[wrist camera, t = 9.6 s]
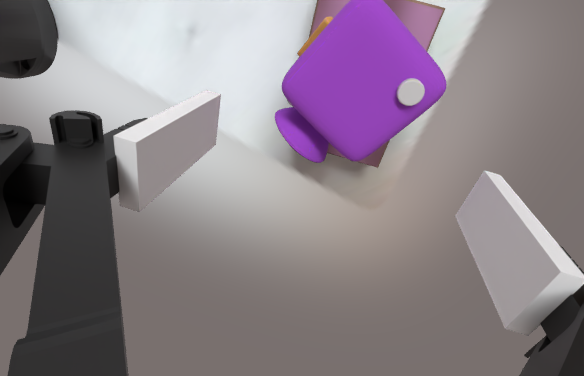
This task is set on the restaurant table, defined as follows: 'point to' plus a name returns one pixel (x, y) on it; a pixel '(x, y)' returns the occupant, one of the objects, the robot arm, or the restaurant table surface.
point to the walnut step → (413, 16)
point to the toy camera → (357, 83)
